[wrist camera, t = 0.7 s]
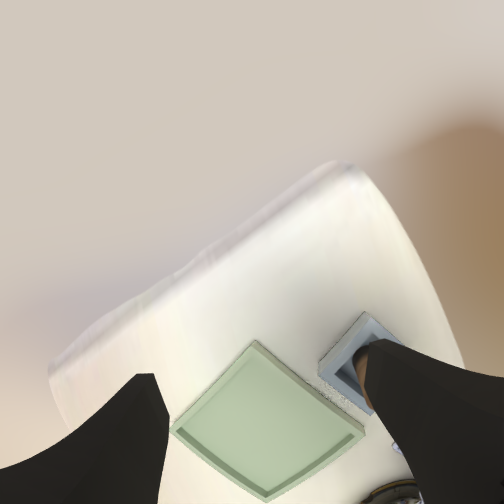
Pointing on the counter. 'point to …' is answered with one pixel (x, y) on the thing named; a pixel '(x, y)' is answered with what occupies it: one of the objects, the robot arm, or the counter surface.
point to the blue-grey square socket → (340, 359)
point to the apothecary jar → (395, 493)
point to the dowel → (361, 369)
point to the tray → (265, 426)
